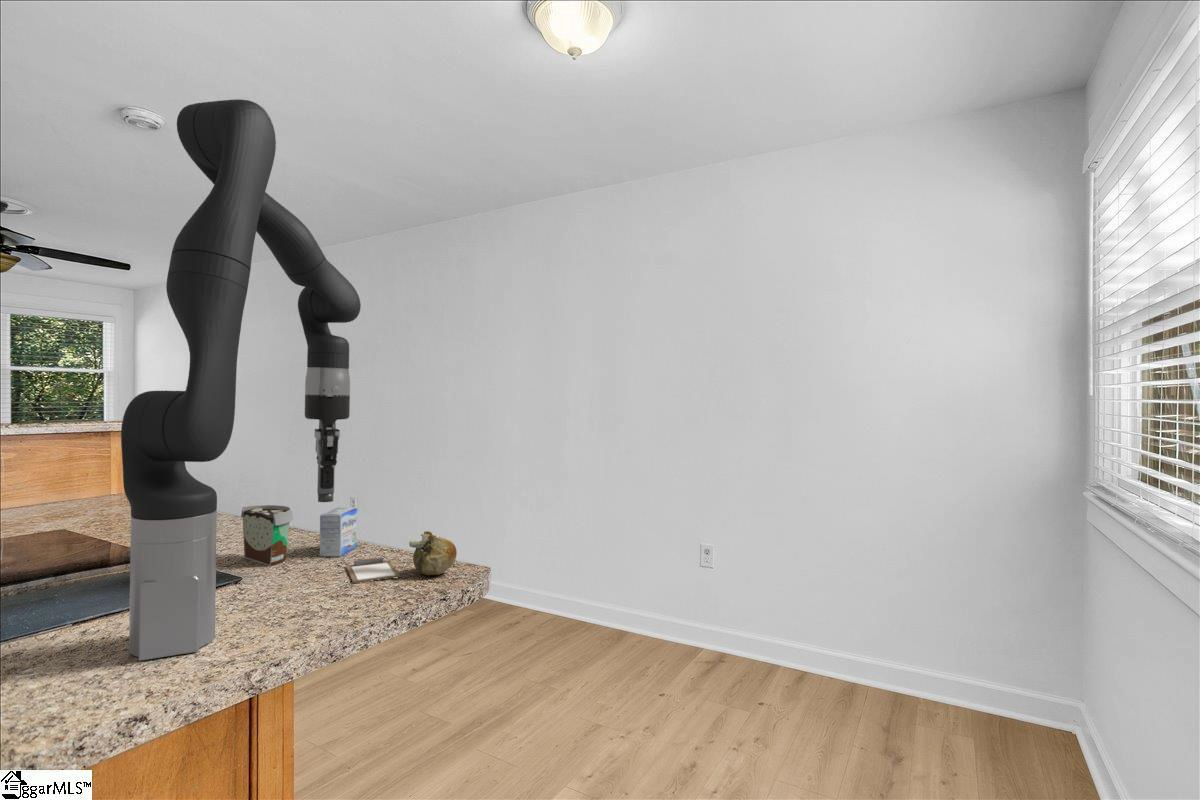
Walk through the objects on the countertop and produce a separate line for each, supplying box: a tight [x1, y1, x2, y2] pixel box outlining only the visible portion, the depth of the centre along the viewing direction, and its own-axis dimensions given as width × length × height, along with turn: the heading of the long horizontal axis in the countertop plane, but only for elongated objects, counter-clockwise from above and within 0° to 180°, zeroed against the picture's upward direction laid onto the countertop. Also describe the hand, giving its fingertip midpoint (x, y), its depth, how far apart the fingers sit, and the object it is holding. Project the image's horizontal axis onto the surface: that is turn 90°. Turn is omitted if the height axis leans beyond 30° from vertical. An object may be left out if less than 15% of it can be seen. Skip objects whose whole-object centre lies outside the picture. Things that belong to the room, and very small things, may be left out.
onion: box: [408, 530, 457, 576], centre depth 112 cm, size 8×8×8 cm
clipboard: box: [345, 557, 402, 584], centre depth 112 cm, size 11×8×1 cm
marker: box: [316, 449, 336, 503], centre depth 110 cm, size 3×3×12 cm
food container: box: [240, 504, 294, 567], centre depth 119 cm, size 12×6×10 cm, turn 58°
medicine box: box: [319, 506, 358, 558], centre depth 125 cm, size 8×4×9 cm, turn 179°
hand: (325, 486), depth 110 cm, fingers closed on marker, 2 cm apart
